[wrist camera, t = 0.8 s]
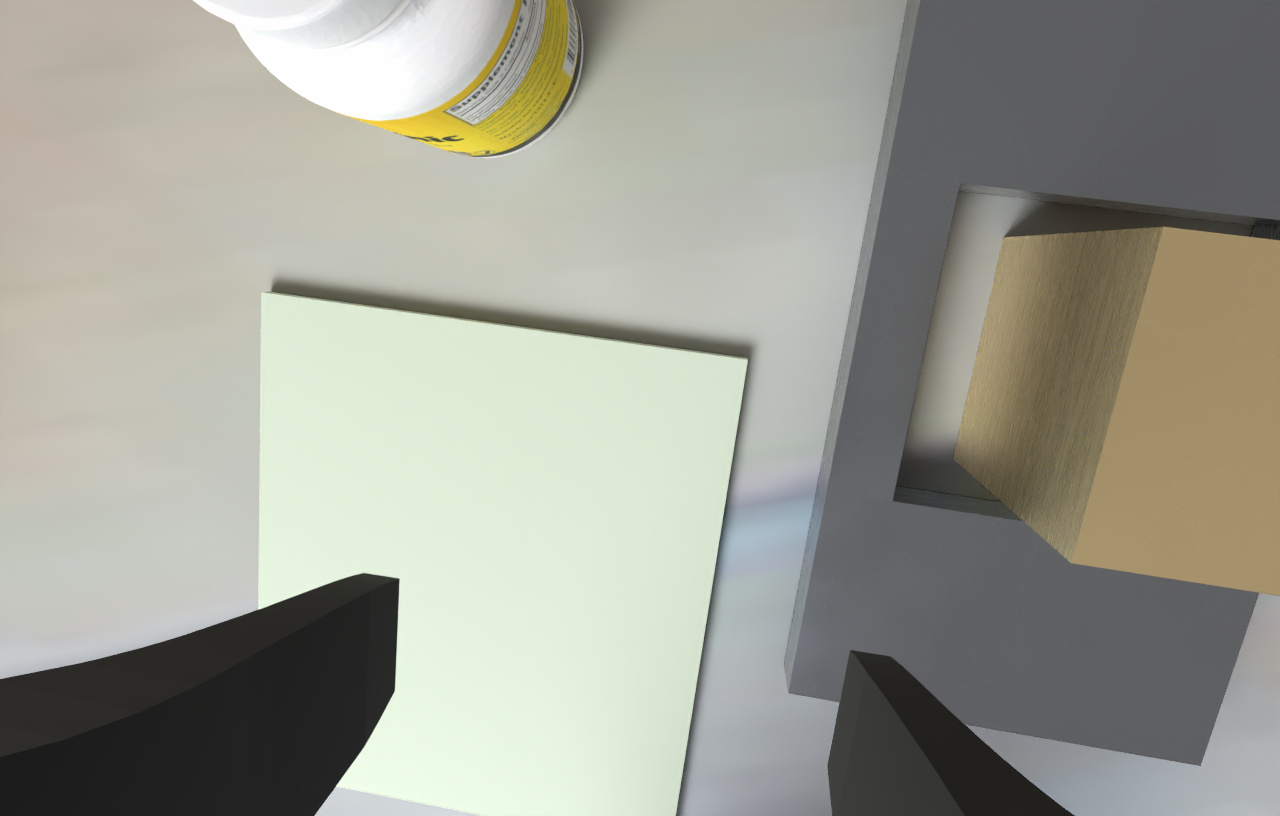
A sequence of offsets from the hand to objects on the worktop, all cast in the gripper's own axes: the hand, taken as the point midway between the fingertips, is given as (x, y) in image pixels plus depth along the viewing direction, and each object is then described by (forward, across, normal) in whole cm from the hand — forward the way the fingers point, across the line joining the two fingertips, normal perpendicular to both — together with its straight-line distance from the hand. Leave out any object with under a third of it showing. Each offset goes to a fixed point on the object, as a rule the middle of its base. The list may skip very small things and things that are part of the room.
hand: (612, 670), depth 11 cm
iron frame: (+10, -10, -5) cm, 15 cm away
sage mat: (+10, +5, +4) cm, 12 cm away
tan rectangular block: (+10, -10, -5) cm, 15 cm away
